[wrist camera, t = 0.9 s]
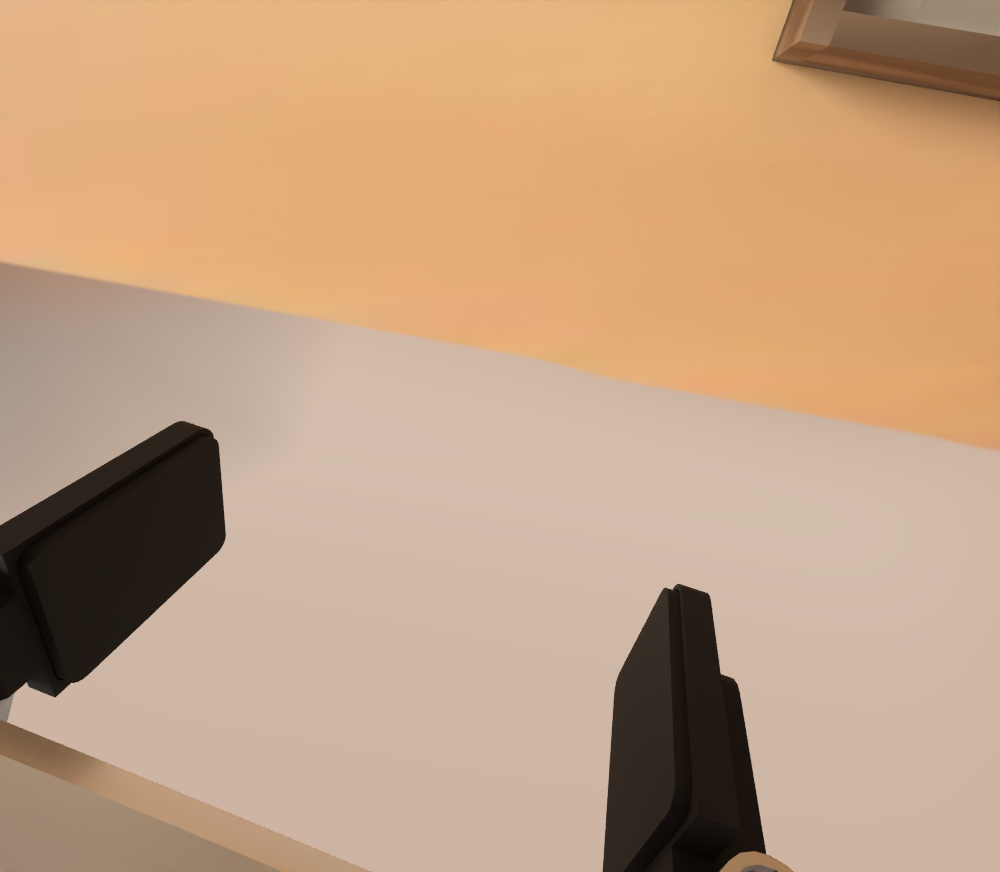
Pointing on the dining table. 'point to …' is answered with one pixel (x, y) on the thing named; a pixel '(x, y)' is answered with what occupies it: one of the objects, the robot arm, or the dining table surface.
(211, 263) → the dining table surface
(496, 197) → the dining table surface
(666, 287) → the dining table surface
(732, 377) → the dining table surface
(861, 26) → the bore box
